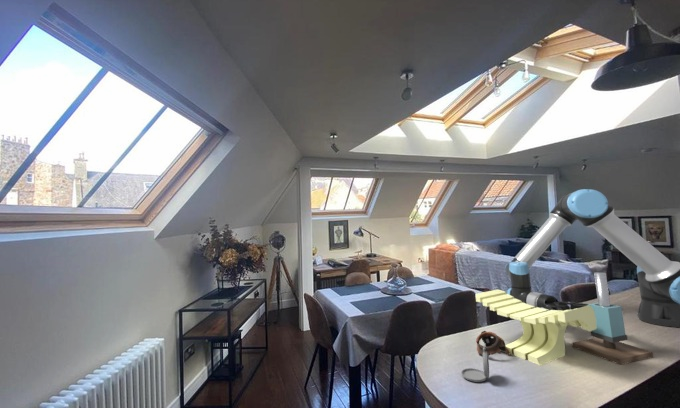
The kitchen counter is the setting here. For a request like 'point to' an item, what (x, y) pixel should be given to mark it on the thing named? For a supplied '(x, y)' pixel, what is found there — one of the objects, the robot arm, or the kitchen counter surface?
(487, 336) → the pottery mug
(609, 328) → the sleeve
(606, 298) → the pipe stand
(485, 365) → the grey round-based holder
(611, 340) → the dark grey square slab
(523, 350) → the slatted curved stool
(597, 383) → the kitchen counter surface
